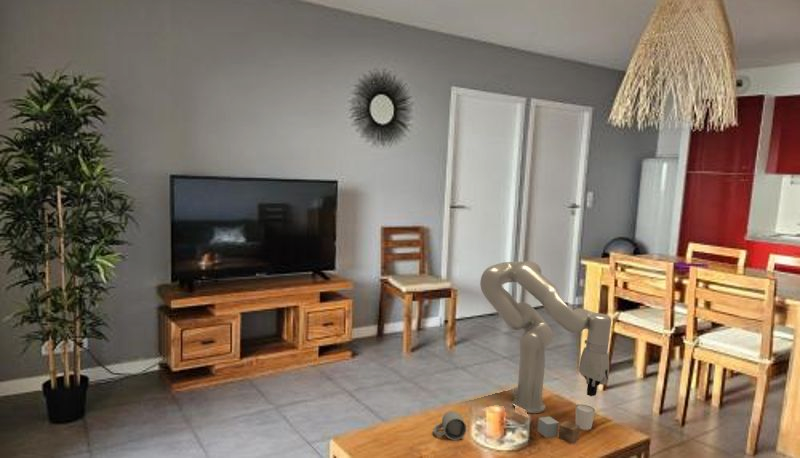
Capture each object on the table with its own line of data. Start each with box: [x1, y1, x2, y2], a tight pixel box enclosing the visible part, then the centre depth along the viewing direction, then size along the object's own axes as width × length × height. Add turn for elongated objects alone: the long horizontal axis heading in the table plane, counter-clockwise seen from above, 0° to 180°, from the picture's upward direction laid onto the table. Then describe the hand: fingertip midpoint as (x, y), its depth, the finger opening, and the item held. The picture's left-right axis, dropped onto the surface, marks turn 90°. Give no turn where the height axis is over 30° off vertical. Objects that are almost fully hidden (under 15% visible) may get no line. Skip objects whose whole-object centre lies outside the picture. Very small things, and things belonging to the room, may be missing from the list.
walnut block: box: [558, 420, 581, 445], centre depth 189 cm, size 5×5×5 cm
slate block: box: [536, 415, 560, 439], centre depth 192 cm, size 5×5×5 cm
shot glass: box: [574, 404, 596, 431], centre depth 199 cm, size 7×7×7 cm
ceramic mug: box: [432, 410, 467, 441], centre depth 187 cm, size 11×8×8 cm
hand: (591, 394), depth 200 cm, fingers closed
